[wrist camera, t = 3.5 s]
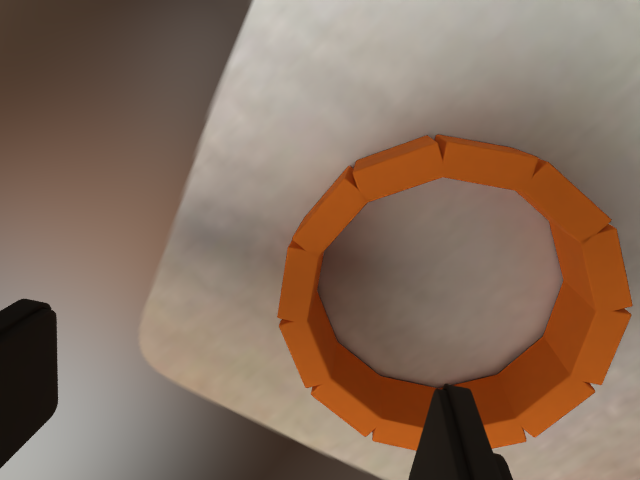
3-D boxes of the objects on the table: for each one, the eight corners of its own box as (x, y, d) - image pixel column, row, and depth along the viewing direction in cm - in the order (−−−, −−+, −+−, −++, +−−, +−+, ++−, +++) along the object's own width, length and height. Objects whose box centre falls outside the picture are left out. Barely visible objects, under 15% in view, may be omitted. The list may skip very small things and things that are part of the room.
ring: (637, 169, 17) (688, 184, 14) (535, 431, 21) (560, 483, 18) (318, 112, 18) (307, 116, 15) (276, 375, 22) (261, 416, 19)
